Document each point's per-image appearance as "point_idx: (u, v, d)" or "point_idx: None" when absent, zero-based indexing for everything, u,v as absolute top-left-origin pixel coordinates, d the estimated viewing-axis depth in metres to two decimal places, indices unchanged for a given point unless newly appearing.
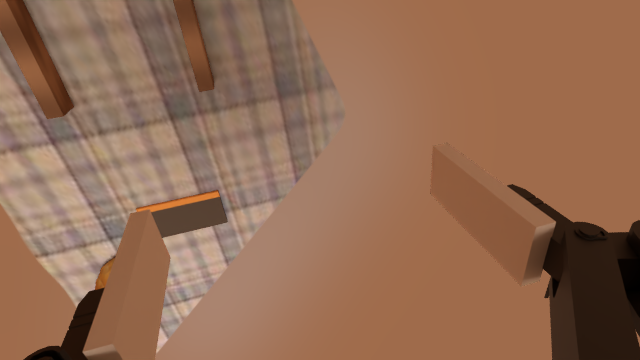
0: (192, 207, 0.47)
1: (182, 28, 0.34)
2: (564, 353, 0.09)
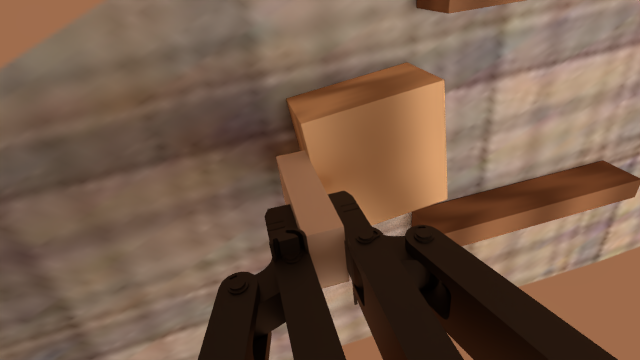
0: None
1: None
2: None
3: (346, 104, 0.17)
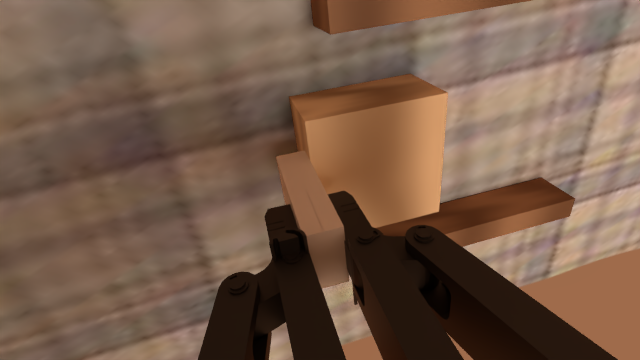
0: None
1: None
2: None
3: (351, 107, 0.17)
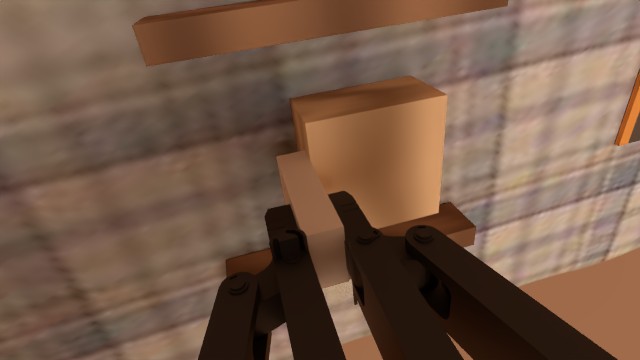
0: None
1: (383, 23, 0.16)
2: None
3: (351, 109, 0.17)
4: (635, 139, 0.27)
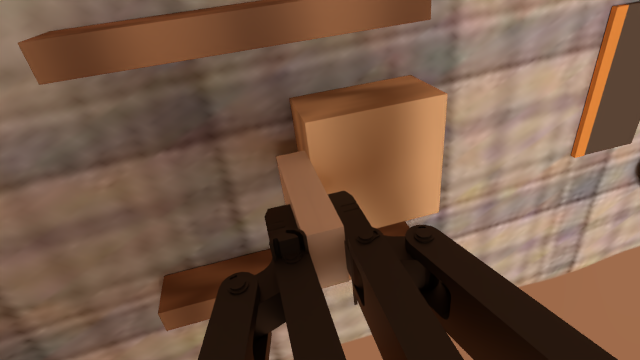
0: (618, 64, 0.23)
1: (296, 38, 0.15)
2: None
3: (350, 108, 0.17)
4: (592, 151, 0.27)
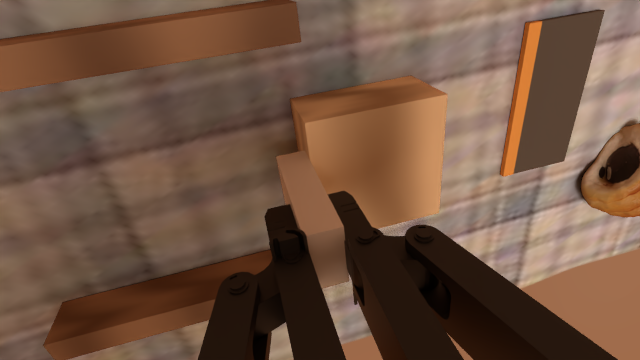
0: (539, 82, 0.22)
1: (148, 64, 0.14)
2: None
3: (350, 108, 0.17)
4: (521, 169, 0.26)
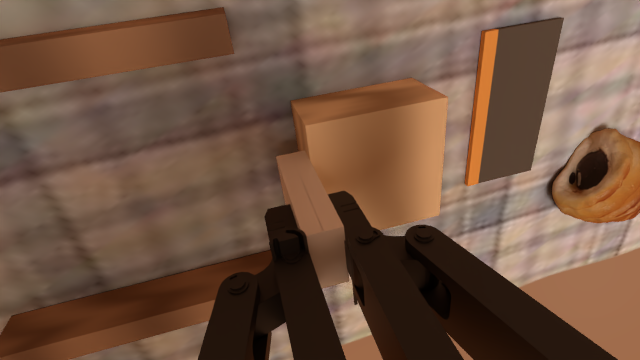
0: (499, 91, 0.22)
1: (71, 77, 0.14)
2: None
3: (351, 111, 0.17)
4: (486, 178, 0.25)
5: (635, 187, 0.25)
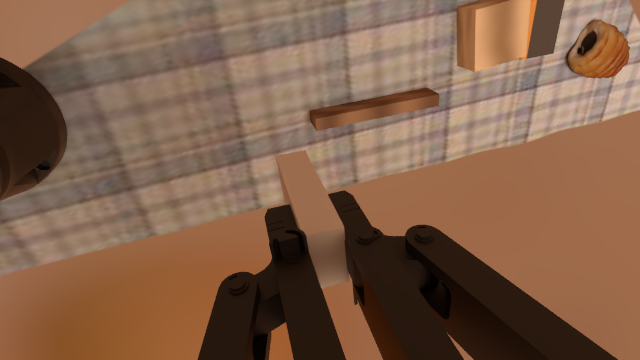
0: (540, 5, 0.46)
1: None
2: None
3: (491, 4, 0.41)
4: (530, 56, 0.49)
5: (612, 49, 0.48)
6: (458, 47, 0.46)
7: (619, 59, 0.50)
